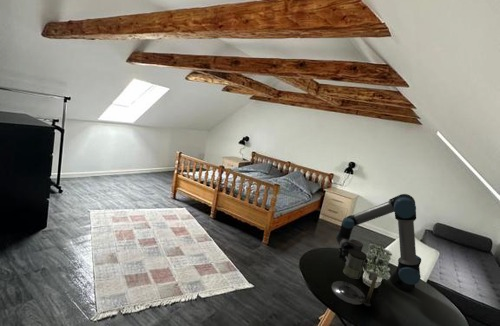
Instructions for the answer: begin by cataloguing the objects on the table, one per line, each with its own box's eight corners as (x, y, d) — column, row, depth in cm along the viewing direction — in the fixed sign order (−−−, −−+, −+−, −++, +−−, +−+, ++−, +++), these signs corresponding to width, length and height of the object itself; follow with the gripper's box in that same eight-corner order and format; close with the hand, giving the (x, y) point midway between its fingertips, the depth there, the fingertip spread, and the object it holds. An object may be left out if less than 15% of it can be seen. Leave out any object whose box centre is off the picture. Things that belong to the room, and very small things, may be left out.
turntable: (358, 285, 181) (358, 284, 181) (370, 307, 161) (370, 306, 161) (328, 279, 181) (328, 278, 181) (336, 300, 161) (336, 299, 161)
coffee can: (341, 266, 176) (347, 246, 173) (357, 270, 175) (364, 250, 172) (344, 276, 166) (351, 255, 163) (362, 280, 165) (369, 259, 162)
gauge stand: (368, 301, 166) (378, 273, 162) (371, 307, 162) (381, 278, 158) (360, 300, 166) (370, 271, 162) (363, 305, 162) (372, 276, 158)
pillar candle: (343, 254, 218) (348, 237, 214) (354, 255, 219) (360, 238, 216) (348, 261, 209) (354, 243, 205) (360, 263, 210) (366, 245, 206)
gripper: (362, 255, 187) (374, 275, 165) (328, 248, 187) (336, 267, 165) (365, 245, 185) (378, 264, 163) (331, 238, 185) (340, 256, 164)
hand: (357, 266), depth 164 cm, fingers closed on coffee can, 10 cm apart
